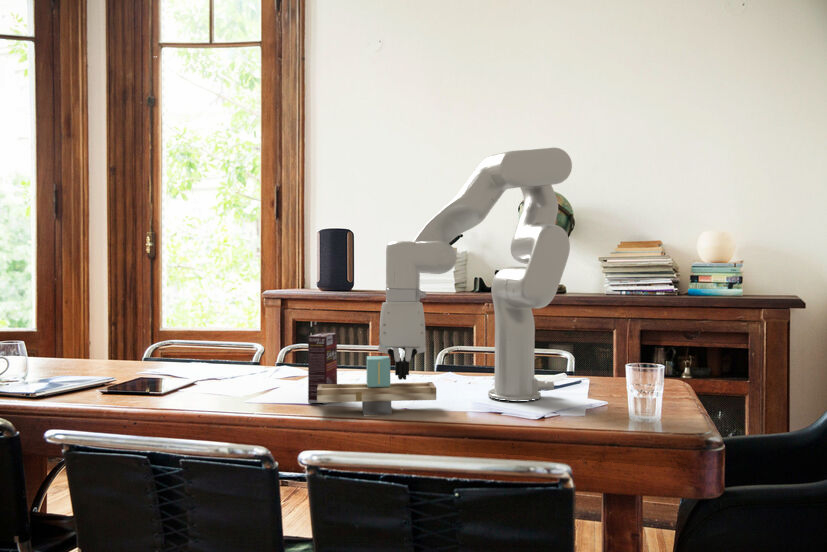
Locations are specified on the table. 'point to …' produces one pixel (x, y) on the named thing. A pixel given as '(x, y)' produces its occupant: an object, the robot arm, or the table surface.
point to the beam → (376, 395)
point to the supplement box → (321, 362)
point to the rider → (378, 371)
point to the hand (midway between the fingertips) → (402, 378)
